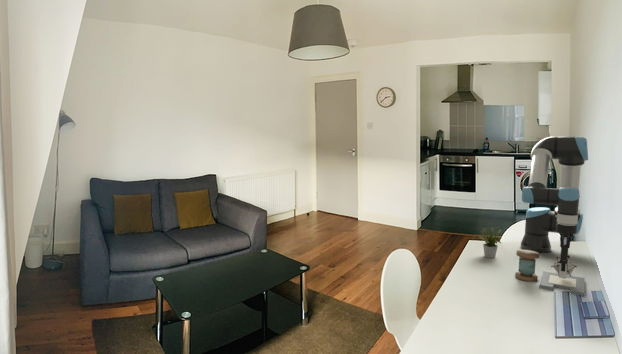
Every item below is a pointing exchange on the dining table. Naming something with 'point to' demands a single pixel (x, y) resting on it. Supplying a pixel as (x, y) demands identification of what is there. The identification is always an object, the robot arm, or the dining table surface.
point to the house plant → (490, 244)
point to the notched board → (562, 283)
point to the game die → (569, 266)
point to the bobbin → (527, 265)
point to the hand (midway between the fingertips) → (562, 274)
